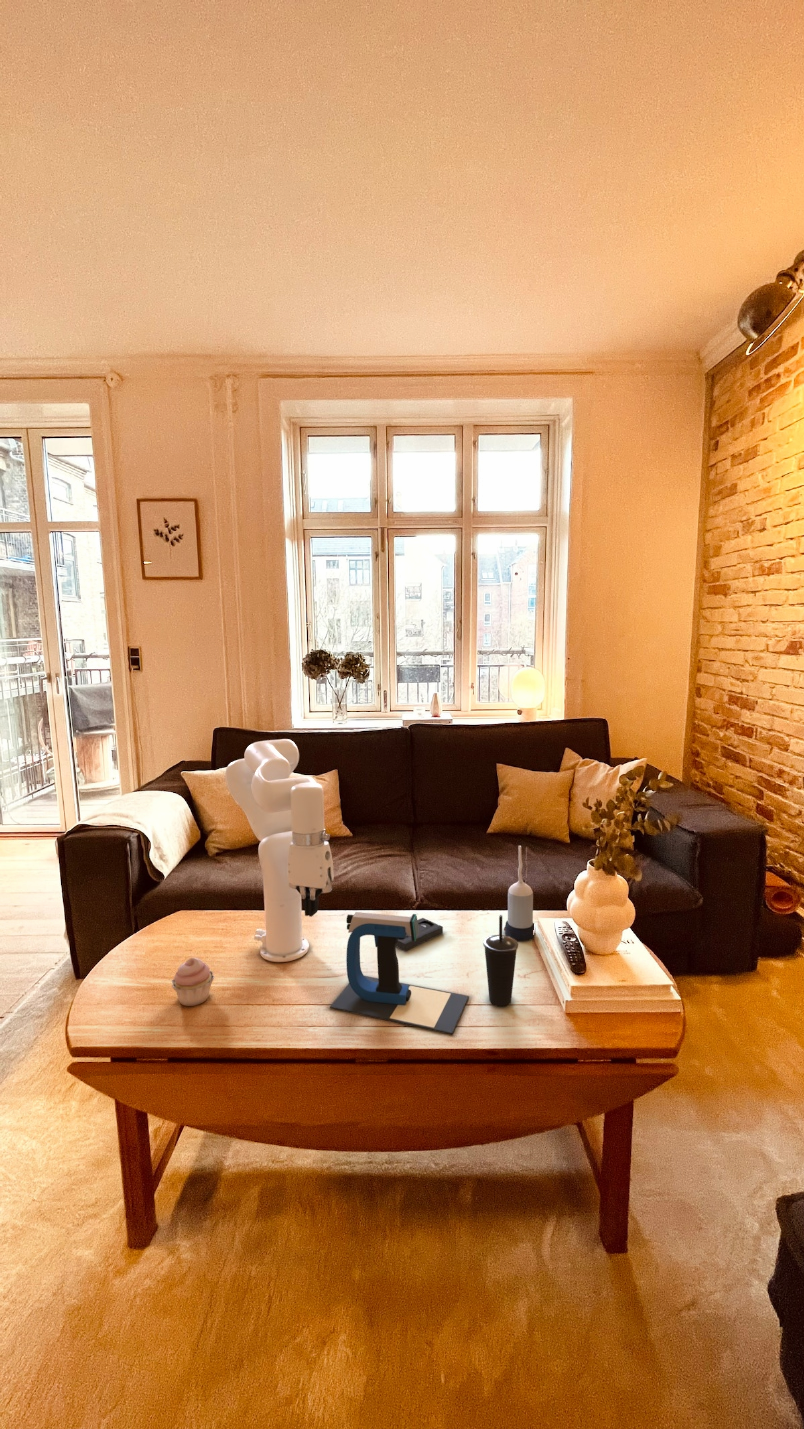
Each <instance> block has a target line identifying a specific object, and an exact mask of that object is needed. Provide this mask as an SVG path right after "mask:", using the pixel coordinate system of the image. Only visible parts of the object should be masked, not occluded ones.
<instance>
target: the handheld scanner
mask: <svg viewBox="0 0 804 1429" xmlns="http://www.w3.org/2000/svg"><path fill="white" fill-rule="evenodd" d="M417 920H418V915H417V914H416V913H413V914H412V915H411V916H406V915H394V914H383V913H371V912H362V911H361V912H359V911H355V912H354V914H347V916H346V923H347V924H346V930H348V932H347V933H348V934H349V933H350V934H349V937H348V939H347V945H346V974H347V975H346V976H347V980H348V984H350V986H351V988H352V989H353V991H354V992H355V993H356V994H357V995H358V996H359V997H361V998H362V999H364V1000H366V1001H370V1002H378V1003H387V1004H396V1005H405V1004H406V1001H409V1000H410V997H411V990H409V986H405V985H401V984H400V983H401V982H400V968H399V959H398V955H397V947H396V944H397V941H398V938H405V936H406V933H408V934H409V935H411V938H412V941H416V938H417V935H418V933H419V929H418V922H417ZM364 936H373V938H374V945H375V948H376V960H377V961H376V963H377V978H378V981H379V983H377V982H372V981H370V980H368V979H367V978H365V976H366V975H364V973H363V971H362V966H361V938H362V937H364Z"/></svg>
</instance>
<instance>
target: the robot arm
mask: <svg viewBox="0 0 804 1429" xmlns="http://www.w3.org/2000/svg"><path fill="white" fill-rule="evenodd" d="M299 761H300V752H299V749H298V746H297V744H295V742H294V741H292V740H291V739H288V738H282V739H270V740H269V739H268V740H260V741H255V742H253V743H251V744H250V745H248V746H247V748H246V749H245V751H244V758H239V759H237V760H234V761H232V762H230V763H229V764H228V765H227V766H226V769H225V772H224V773H225V776H224V777H225V783H226V787H227V790H228V792H229V794H230V796H231V797H232V799H233V801H234V802H235V803H236V805H238V807H240V809H241V810H242V811H243V812H244V815H245V817H246V819H247V821H248V824H249V826H250V828H251V831H252V832H253V835H254V836H255V838H256V839H257V840H258V841H259V845H258V849H257V850H258V853H257V854H258V858H259V863H260V869H261V874H262V884H263V886H262V887H263V903H264V928H265V929H260V928H256V930H255V932H254V938H253V940H254V941H257V942H261V943H262V944H261V946H260V948H259V953H260V956H261V957H262V959H264V960H266V961H268V962H273V963H285V962H291V961H295V960H298V959H300V958H302V957H304V956H305V955H306V954H307V953H308V951H309V950H310V944H309V941H308V940H307V939H306V938H305V937H303V912H302V911H303V910H304V916H305V917H308V916H309V917H311V918H312V917H313V916H314V915H316V914H317V913H318V911H319V896H320V895H321V894H327V893H330V892H332V891H333V886H332V883H333V881H334V880H335V872H334V863H333V862H334V861H333V855H332V850H331V846H330V843H329V840H330V838H331V835H330V833H326V832H327V830H326V822H325V796H324V795H325V793H324V788H323V785H321V784H320V783H317V782H316V780H314V779H313V777H311V776H296V777H290V775H292V774H293V772H294V770H295V769H296V768H297V766H298V765H299V764H298V763H299ZM302 899H303V906H302Z"/></svg>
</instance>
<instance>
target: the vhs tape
mask: <svg viewBox="0 0 804 1429" xmlns="http://www.w3.org/2000/svg"><path fill="white" fill-rule="evenodd" d="M417 922H418V929H419V933H418V935H417V938H416V941H412V938H411V935H409V934H408V933H406V936H405V938H398V941H397V944H396V948H398V949H401V951H404V952H406V951H407V952H408V951H409V950H411V949H414V947H418V946H419V945H422V944H424V943H427V941H430V940H432V939H434V938H436V937H438V936H440V935H443V934H444V927H443V926H442V925H440V924H438V923H435V922H433V921H431V920H429V919H427V918H424V917H421V918H419V919H417Z"/></svg>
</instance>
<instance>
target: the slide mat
mask: <svg viewBox="0 0 804 1429" xmlns="http://www.w3.org/2000/svg"><path fill="white" fill-rule="evenodd" d="M364 976H365V978H367V979H368V980H370V981H372V982H377V983H379V981H378V977H373V976H367V975H364ZM399 983H400V984H401V985H405V986H409V990H411V997H410V1000H409V1001H406V1004H405V1005H396V1004H387V1003H378V1002H370V1001H366V1000H364V999H362V998H361V997H359V996H358V995H357V994H356V993H355V992H354V991H353V989H352V988H351V986H350V984H349V983H348V984H347V985H346V986H345V987H344V988H343V990H342V991H341V992H340V994H339V995H338V996H337V997H336V998H335V999H334V1001H333V1002H332V1003H331V1004H330V1006H329V1009H332V1010H337V1011H341V1012H346V1013H351V1014H355V1015H360V1016H364V1017H370V1018H374V1019H378V1020H382V1021H387V1022H392V1023H395V1024H401V1025H404V1026H405V1025H406V1026H410V1027H415V1028H421V1029H424V1030H429V1031H433V1032H438V1033H443V1034H446V1035H453V1034H454V1031H455V1029H456V1027H457V1025H458V1022H459V1021H460V1019H461V1016H462V1013H463V1012H464V1009H465V1008H466V1004H467V1002H468V1000H469V998H470V996H469V995H467V994H462V993H455V992H452V991H447V990H442V989H441V990H440V989H435V988H431V987H425V986H420V985H414V984H408V983H404V982H399Z"/></svg>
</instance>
